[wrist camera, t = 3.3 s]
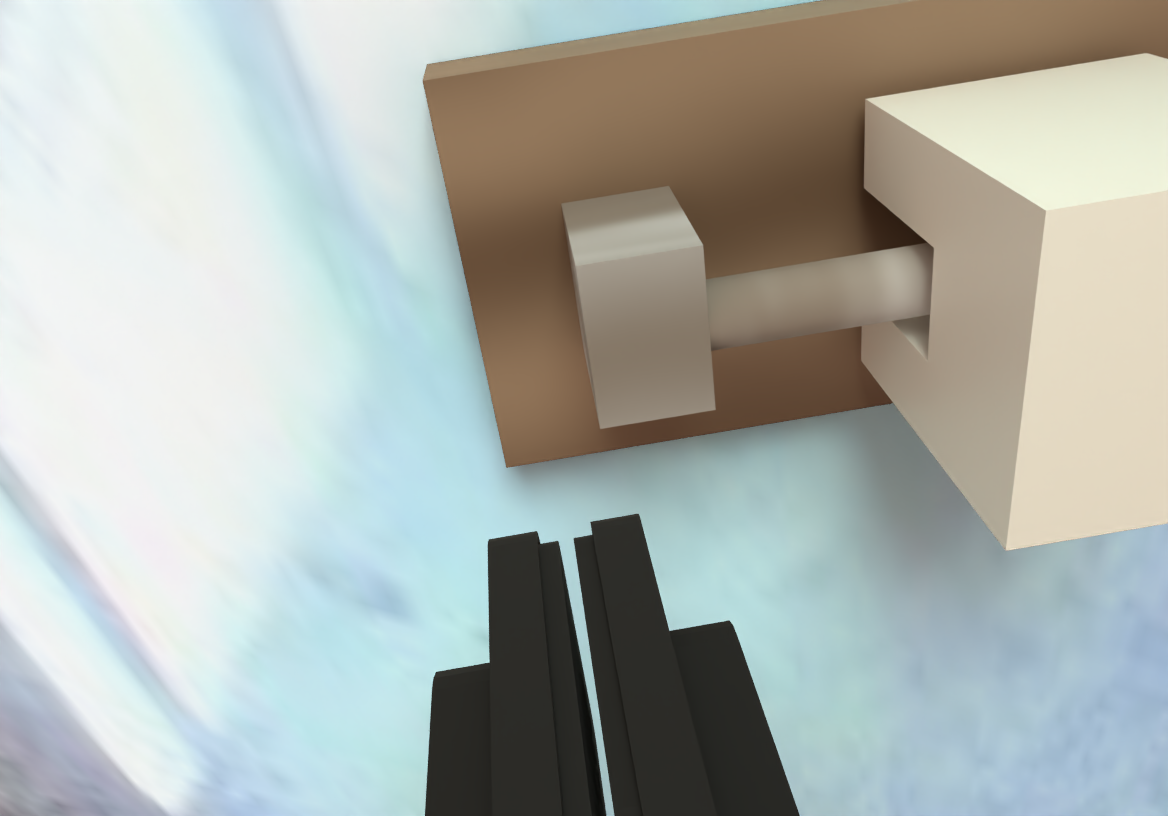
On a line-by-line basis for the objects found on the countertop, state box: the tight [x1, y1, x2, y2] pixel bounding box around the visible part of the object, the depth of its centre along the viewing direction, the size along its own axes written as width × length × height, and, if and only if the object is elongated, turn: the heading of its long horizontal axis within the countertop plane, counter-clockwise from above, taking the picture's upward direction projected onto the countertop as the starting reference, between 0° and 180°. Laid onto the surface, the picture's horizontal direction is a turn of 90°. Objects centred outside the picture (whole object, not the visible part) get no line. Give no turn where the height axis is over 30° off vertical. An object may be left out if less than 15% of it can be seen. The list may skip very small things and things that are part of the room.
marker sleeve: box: [861, 53, 1168, 551], centre depth 15 cm, size 5×5×6 cm
